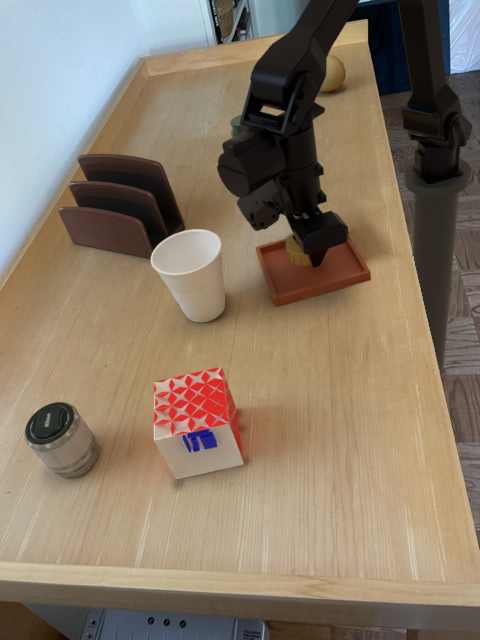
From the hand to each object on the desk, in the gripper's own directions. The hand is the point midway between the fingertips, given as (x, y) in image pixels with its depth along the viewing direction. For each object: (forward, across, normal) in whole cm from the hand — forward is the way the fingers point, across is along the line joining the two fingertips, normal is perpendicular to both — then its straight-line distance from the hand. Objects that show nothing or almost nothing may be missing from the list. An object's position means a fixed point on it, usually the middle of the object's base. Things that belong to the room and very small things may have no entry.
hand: (308, 254), depth 80 cm
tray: (+2, 0, 0) cm, 2 cm away
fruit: (+3, -59, +27) cm, 65 cm away
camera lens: (+3, +20, -38) cm, 43 cm away
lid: (-2, 0, 0) cm, 2 cm away
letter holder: (+3, -25, -26) cm, 36 cm away
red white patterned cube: (+3, +24, -22) cm, 33 cm away
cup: (+3, +2, -17) cm, 17 cm away
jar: (+2, -34, +1) cm, 34 cm away
